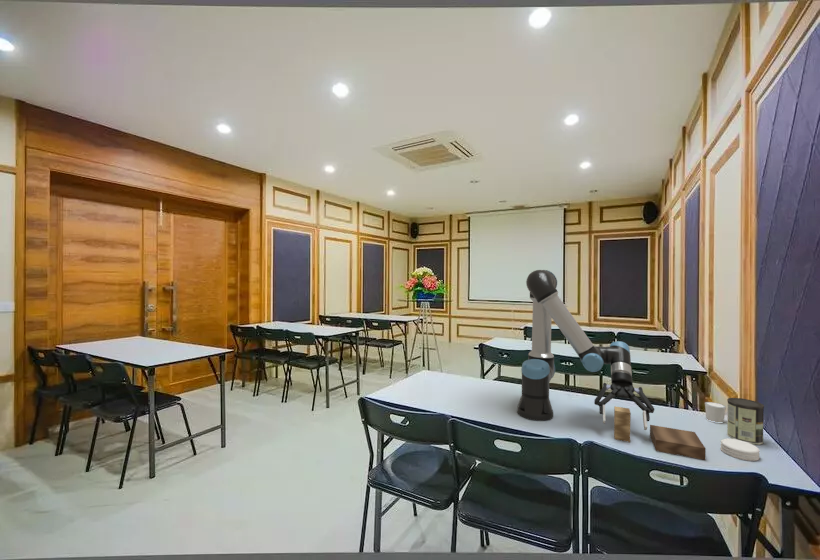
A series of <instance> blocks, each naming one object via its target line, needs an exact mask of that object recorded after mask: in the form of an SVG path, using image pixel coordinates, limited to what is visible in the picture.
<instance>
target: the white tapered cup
mask: <svg viewBox="0 0 820 560" xmlns="http://www.w3.org/2000/svg"><path fill="white" fill-rule="evenodd" d="M704 407H705V409H704V410H705V419H706V418H707V419H708V420H711V421H715V422H725V415H726V409H727V406H726V405H724V404H721V403H718V402H714V401H713V402H711V401H705V402H704ZM707 419H706V420H707ZM708 420H707V421H708Z"/></svg>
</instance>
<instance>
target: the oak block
mask: <svg viewBox="0 0 820 560" xmlns="http://www.w3.org/2000/svg"><path fill="white" fill-rule="evenodd" d="M613 411H614V413H613V414H614V416H613V418H614V419H613V436H614V440H617V441H621V440H622V442H627V441H628V443H631V418H632V417H631V409H630V408H628V407H623V406H622V407H621V406H616V405H615V406H614V410H613Z"/></svg>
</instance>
